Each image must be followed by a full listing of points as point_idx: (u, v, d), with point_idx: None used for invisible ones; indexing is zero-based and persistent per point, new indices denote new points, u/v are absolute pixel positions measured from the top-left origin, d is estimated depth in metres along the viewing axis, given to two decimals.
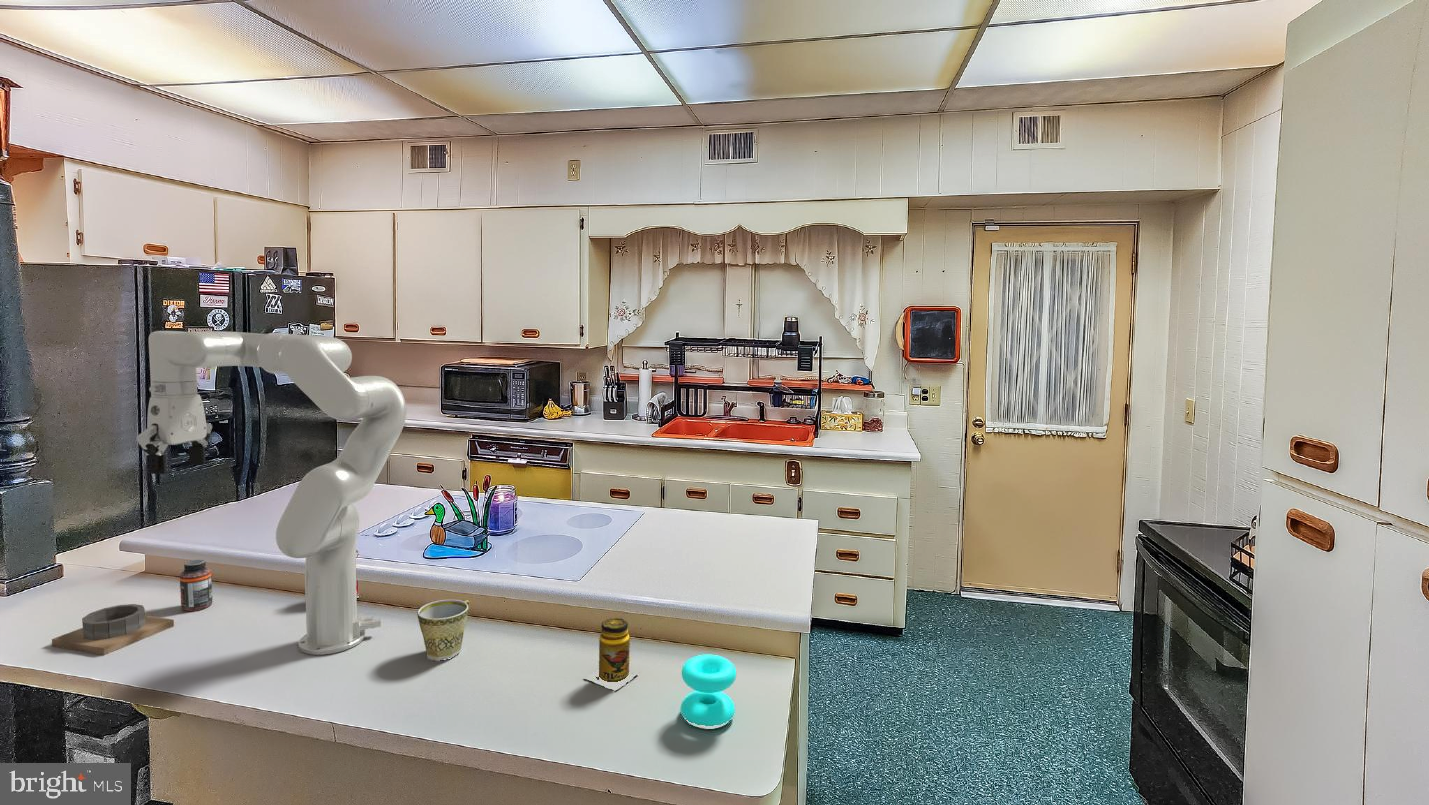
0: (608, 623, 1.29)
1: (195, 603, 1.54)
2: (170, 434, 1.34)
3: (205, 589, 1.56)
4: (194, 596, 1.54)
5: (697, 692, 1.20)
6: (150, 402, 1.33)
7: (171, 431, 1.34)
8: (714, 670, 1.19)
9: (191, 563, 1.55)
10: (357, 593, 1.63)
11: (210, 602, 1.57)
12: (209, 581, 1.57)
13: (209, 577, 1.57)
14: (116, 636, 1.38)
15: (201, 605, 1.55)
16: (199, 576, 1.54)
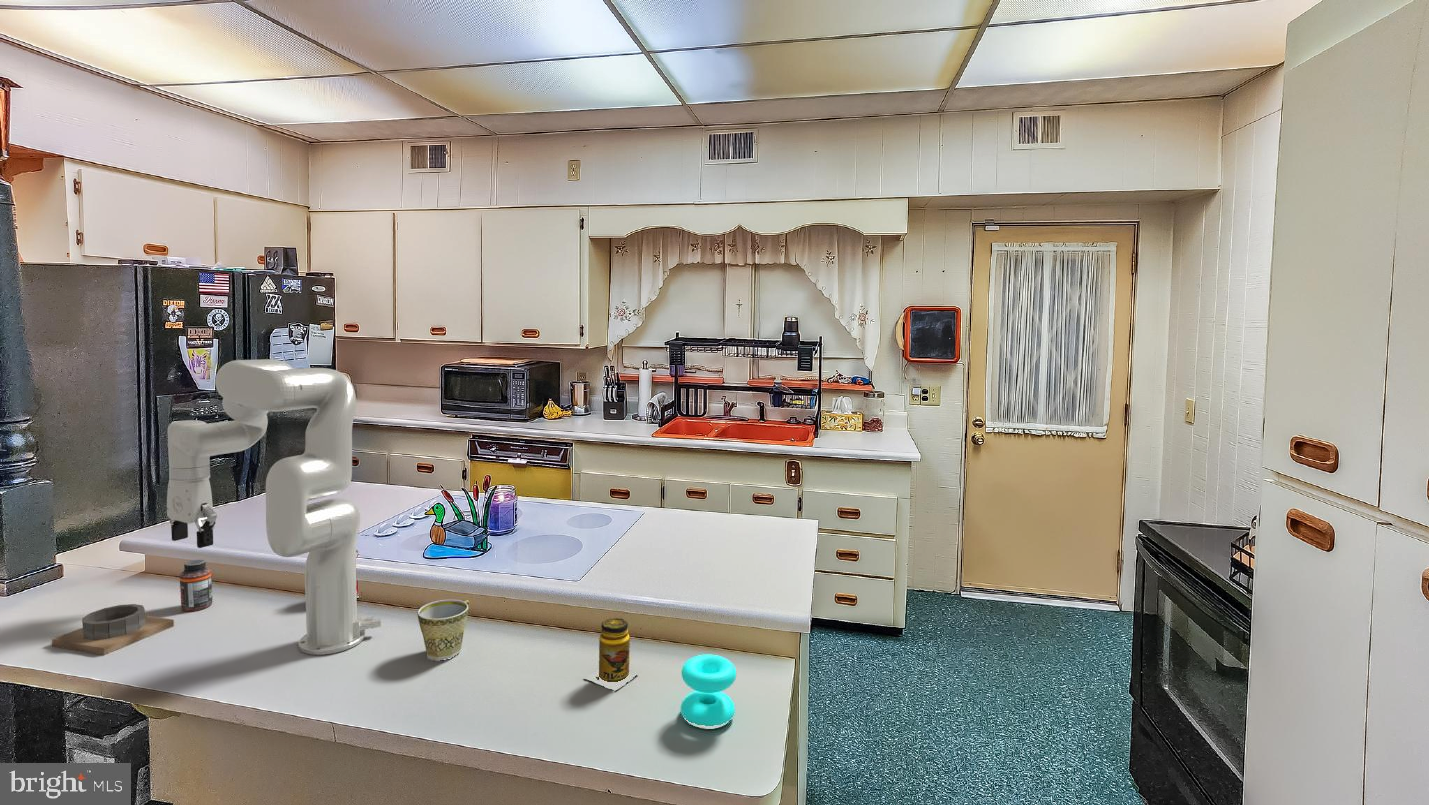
0: (608, 623, 1.29)
1: (195, 603, 1.54)
2: (167, 509, 1.54)
3: (205, 589, 1.56)
4: (194, 596, 1.54)
5: (697, 692, 1.20)
6: None
7: (167, 506, 1.53)
8: (714, 670, 1.19)
9: (191, 563, 1.55)
10: (357, 593, 1.63)
11: (210, 602, 1.57)
12: (209, 581, 1.57)
13: (209, 577, 1.57)
14: (116, 636, 1.38)
15: (201, 605, 1.55)
16: (199, 576, 1.54)
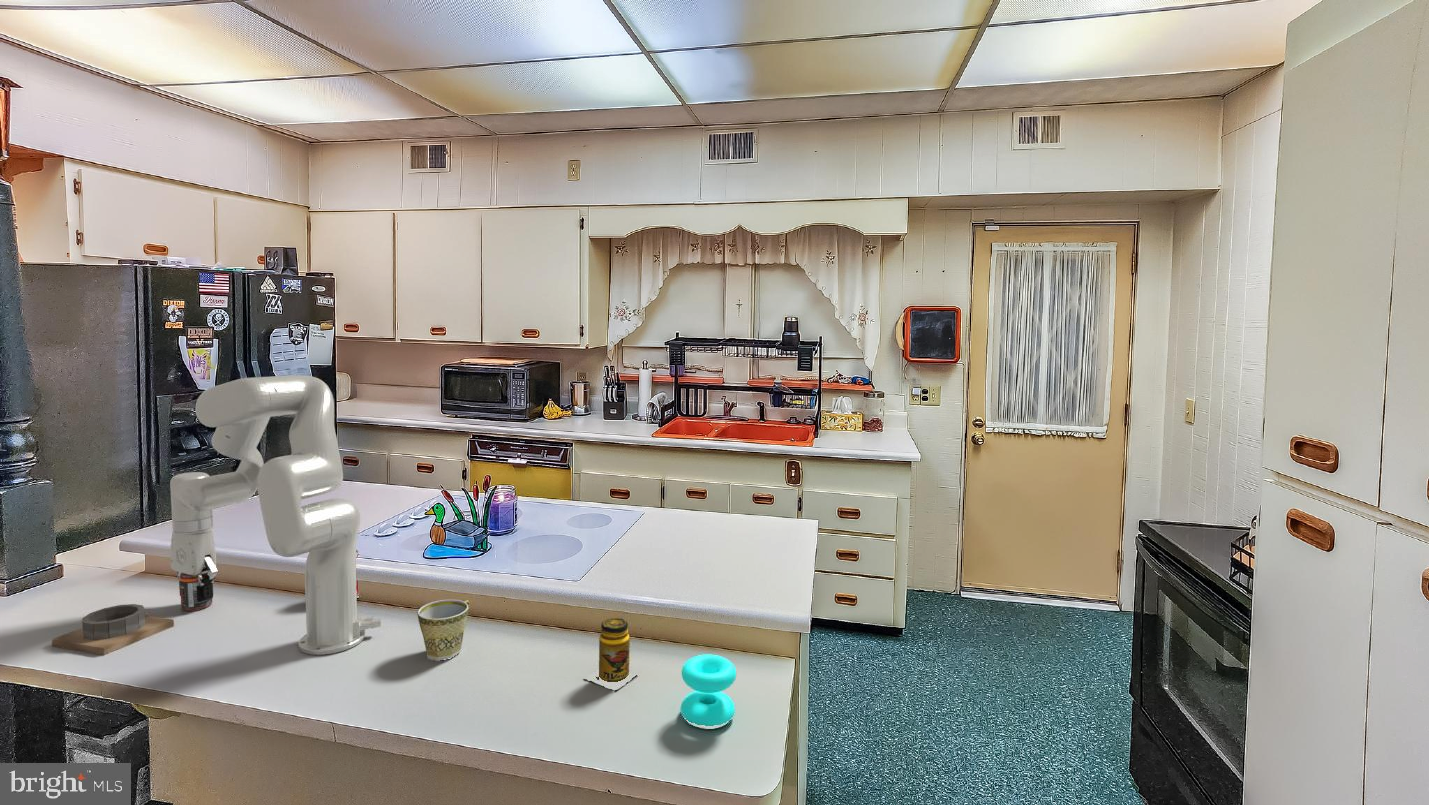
0: (608, 623, 1.29)
1: (195, 603, 1.54)
2: (171, 561, 1.55)
3: None
4: (194, 596, 1.54)
5: (697, 692, 1.20)
6: None
7: (171, 558, 1.55)
8: (714, 670, 1.19)
9: None
10: (357, 593, 1.63)
11: (210, 602, 1.57)
12: None
13: None
14: (116, 636, 1.38)
15: (201, 605, 1.55)
16: None
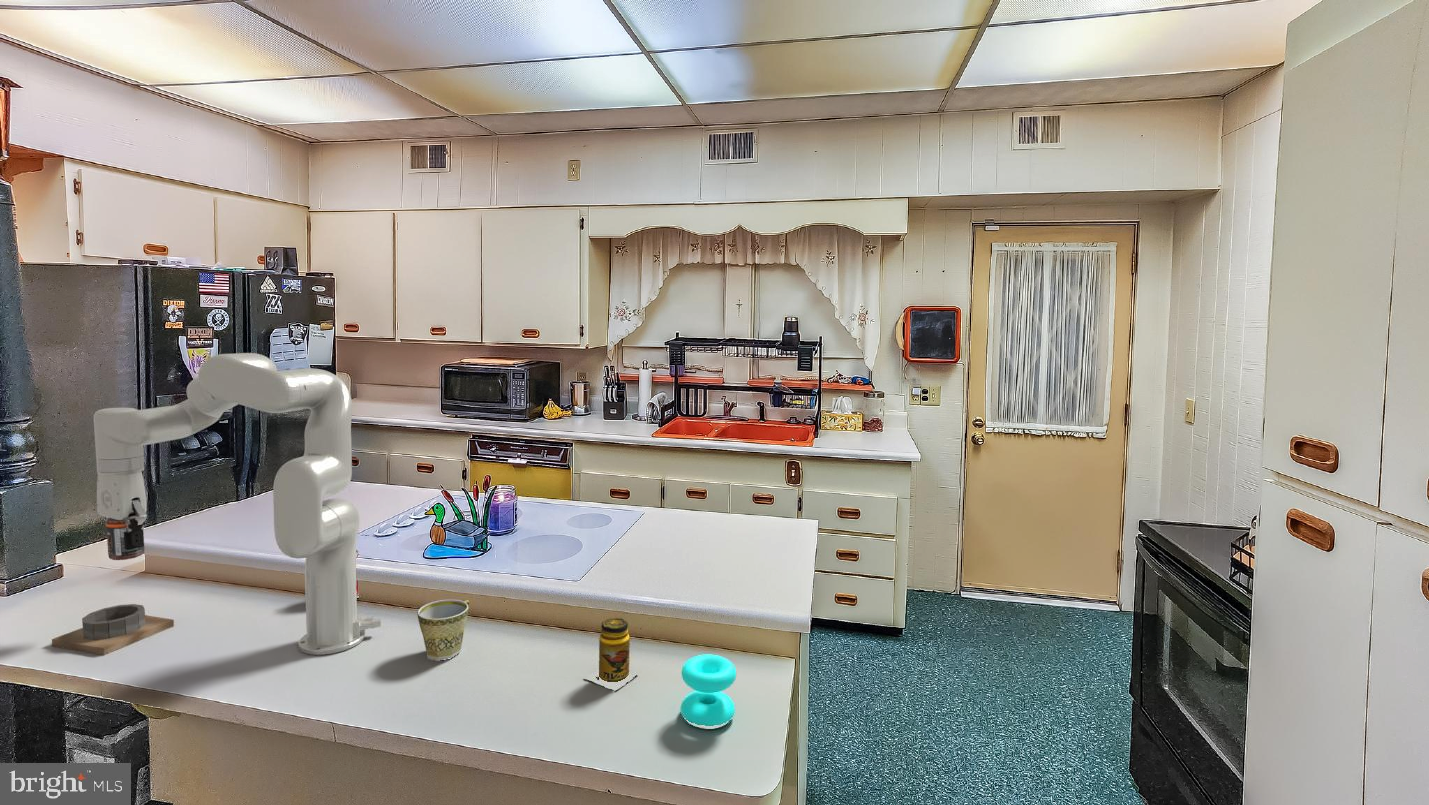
0: (608, 623, 1.29)
1: (122, 552, 1.40)
2: (97, 505, 1.40)
3: None
4: (122, 543, 1.39)
5: (697, 692, 1.20)
6: None
7: (97, 502, 1.40)
8: (714, 670, 1.19)
9: None
10: (357, 593, 1.63)
11: (141, 551, 1.43)
12: None
13: None
14: (116, 636, 1.38)
15: (130, 554, 1.41)
16: None
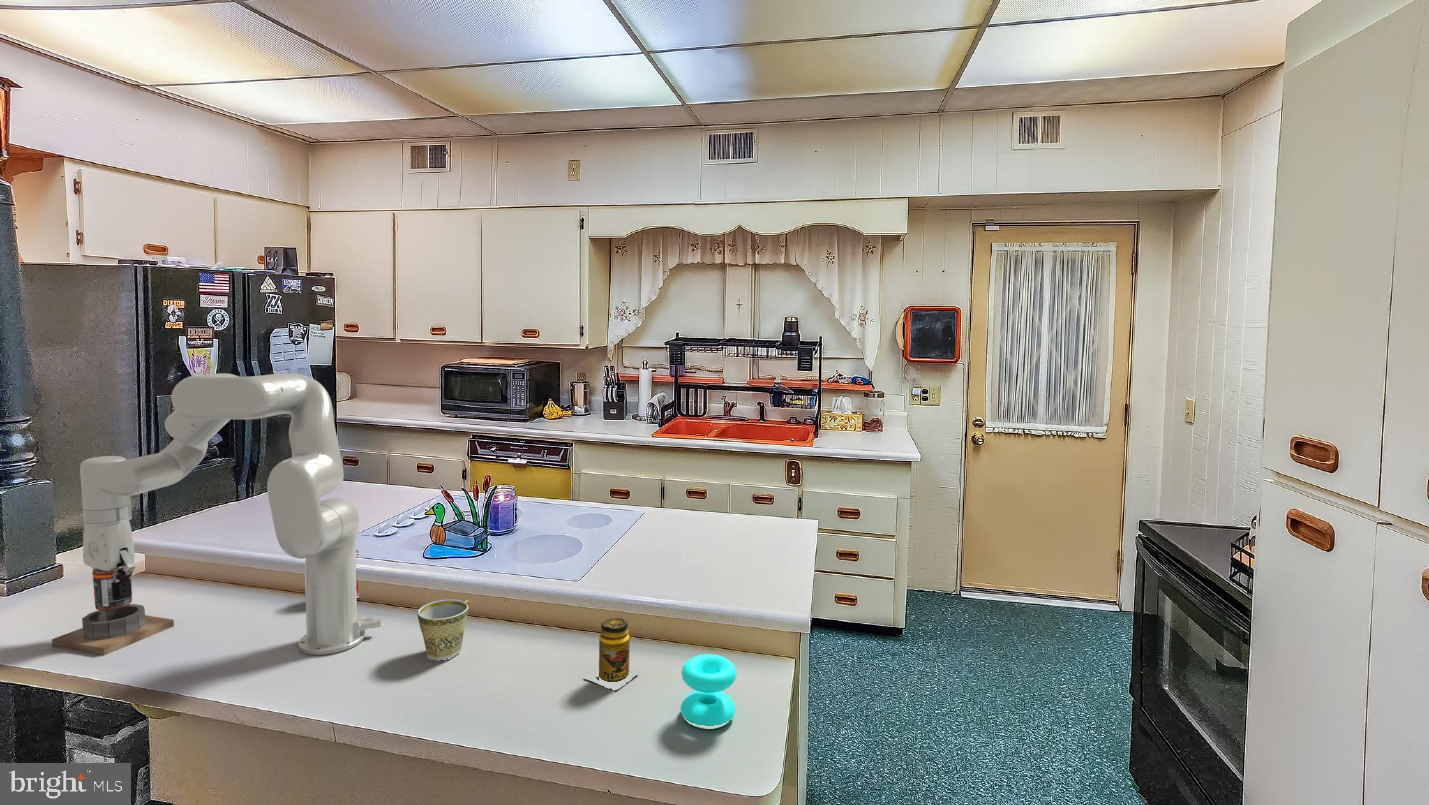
0: (608, 623, 1.29)
1: (110, 602, 1.38)
2: (83, 555, 1.39)
3: None
4: (109, 594, 1.38)
5: (697, 692, 1.20)
6: None
7: (83, 552, 1.39)
8: (714, 670, 1.19)
9: None
10: (357, 593, 1.63)
11: (129, 601, 1.41)
12: None
13: None
14: (116, 636, 1.38)
15: (117, 604, 1.39)
16: None
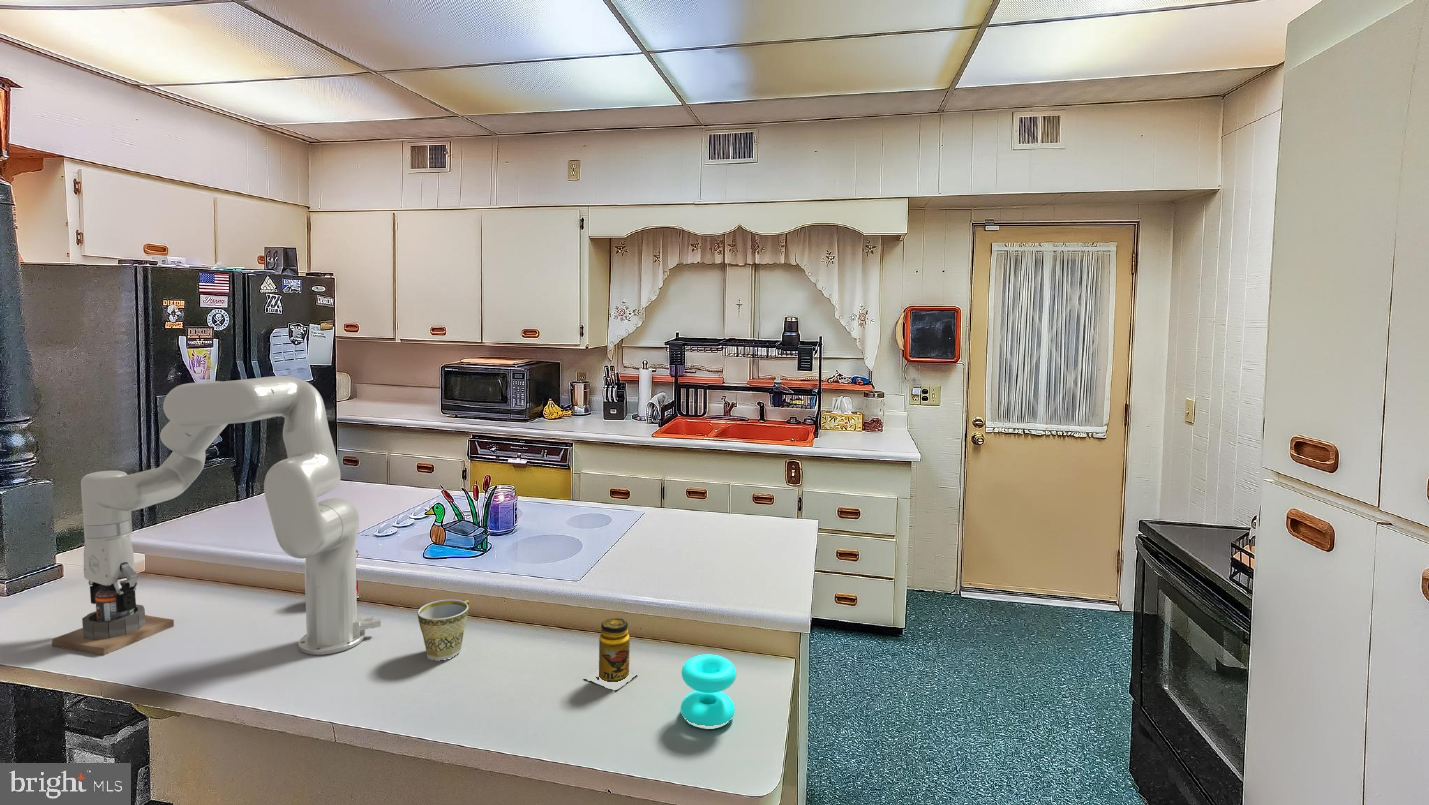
0: (608, 623, 1.29)
1: None
2: (84, 569, 1.39)
3: None
4: (111, 617, 1.38)
5: (697, 692, 1.20)
6: None
7: (84, 567, 1.39)
8: (714, 670, 1.19)
9: None
10: (357, 593, 1.63)
11: None
12: None
13: None
14: (116, 636, 1.38)
15: None
16: None
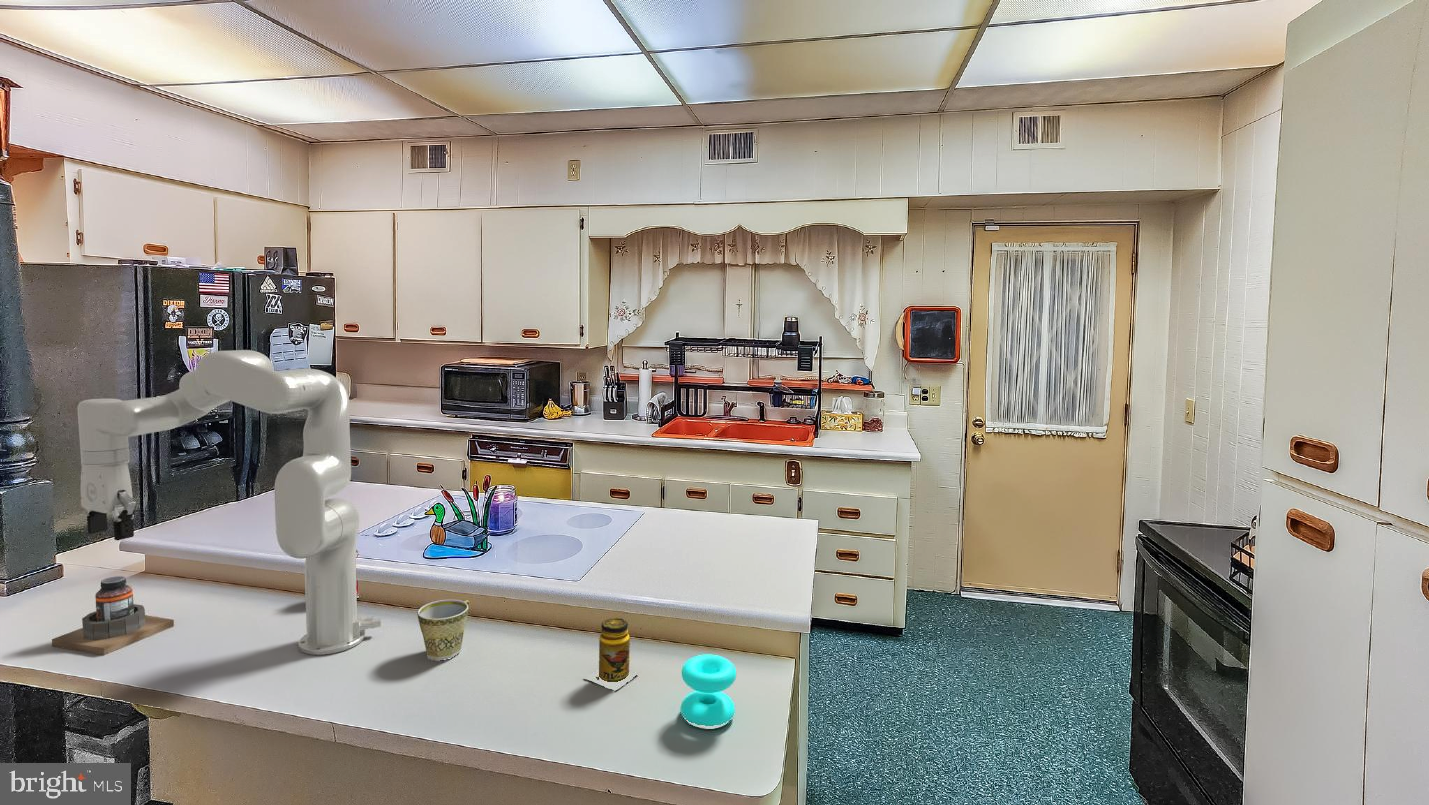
0: (608, 623, 1.29)
1: None
2: (81, 498, 1.38)
3: (125, 610, 1.40)
4: (111, 617, 1.38)
5: (697, 692, 1.20)
6: None
7: (81, 495, 1.38)
8: (714, 670, 1.19)
9: (109, 581, 1.39)
10: (357, 593, 1.63)
11: None
12: (130, 600, 1.41)
13: (130, 596, 1.41)
14: (116, 636, 1.38)
15: None
16: (117, 595, 1.39)
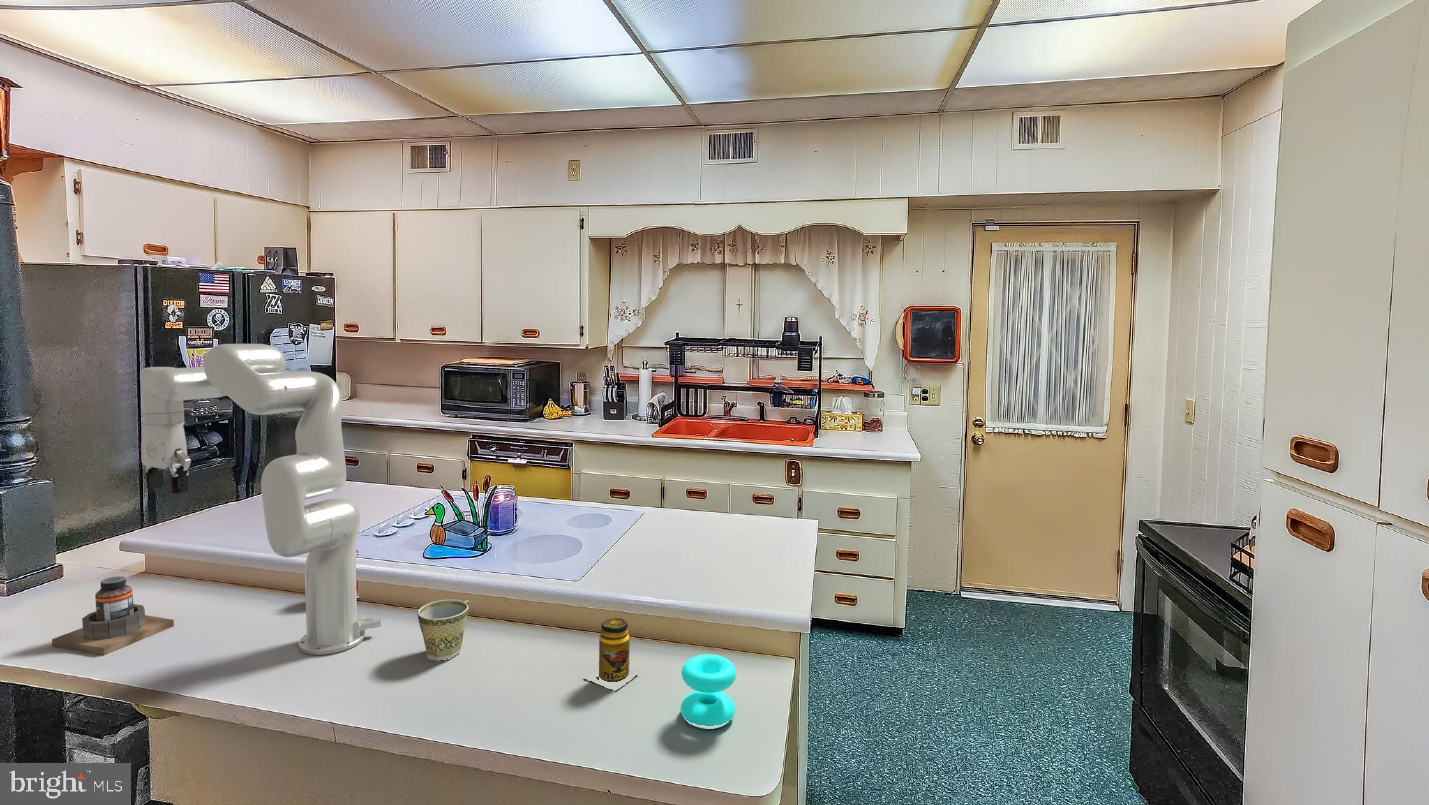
0: (608, 623, 1.29)
1: None
2: (141, 455, 1.54)
3: (125, 610, 1.40)
4: (111, 618, 1.38)
5: (697, 692, 1.20)
6: None
7: (141, 453, 1.53)
8: (714, 670, 1.19)
9: (109, 581, 1.39)
10: (357, 593, 1.63)
11: None
12: (129, 600, 1.41)
13: (129, 596, 1.41)
14: (116, 636, 1.38)
15: None
16: (117, 595, 1.38)
